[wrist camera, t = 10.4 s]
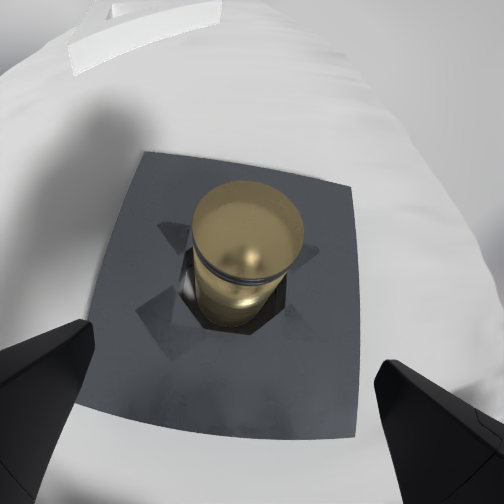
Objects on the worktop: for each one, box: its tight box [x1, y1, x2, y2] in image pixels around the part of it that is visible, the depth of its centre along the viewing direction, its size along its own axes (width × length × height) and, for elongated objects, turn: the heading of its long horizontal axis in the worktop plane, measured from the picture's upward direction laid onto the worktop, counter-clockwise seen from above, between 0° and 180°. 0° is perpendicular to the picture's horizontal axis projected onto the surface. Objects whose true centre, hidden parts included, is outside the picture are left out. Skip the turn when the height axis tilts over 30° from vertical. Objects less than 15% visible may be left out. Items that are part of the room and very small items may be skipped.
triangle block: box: [67, 0, 222, 76], centre depth 36 cm, size 30×26×6 cm
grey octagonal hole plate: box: [75, 152, 360, 440], centre depth 21 cm, size 20×18×3 cm
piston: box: [192, 181, 304, 327], centre depth 17 cm, size 5×5×10 cm
